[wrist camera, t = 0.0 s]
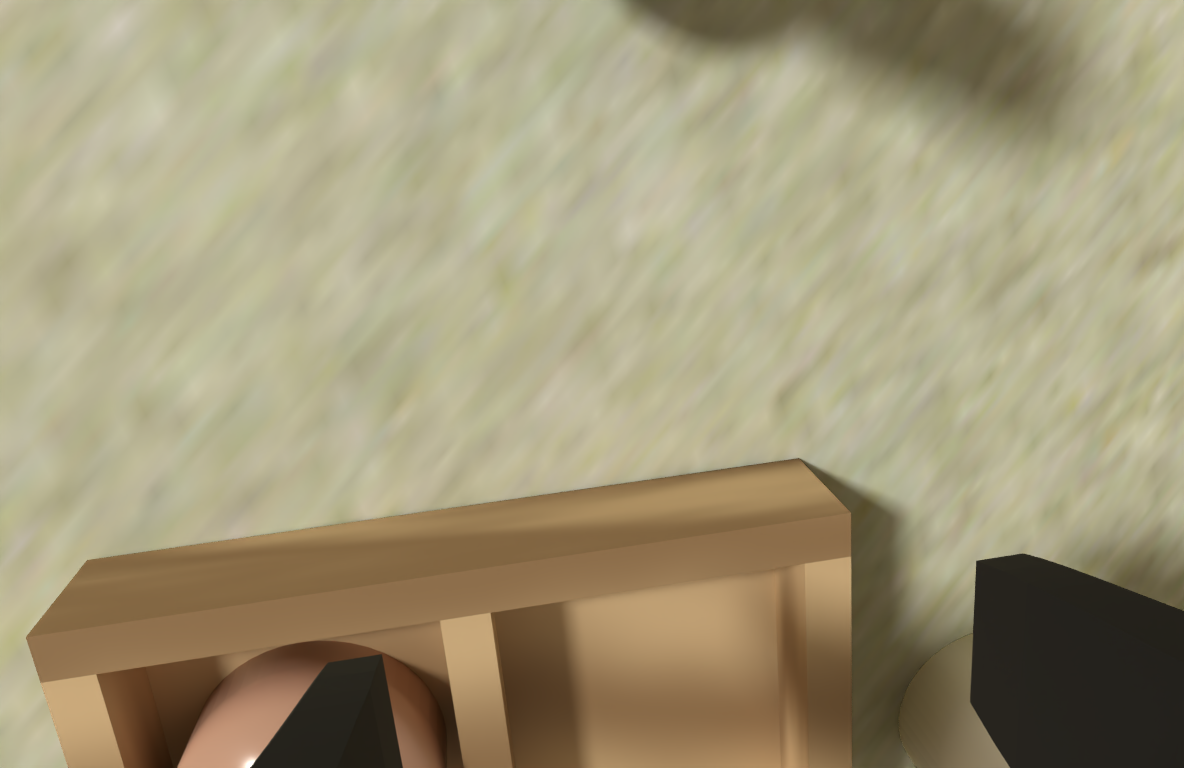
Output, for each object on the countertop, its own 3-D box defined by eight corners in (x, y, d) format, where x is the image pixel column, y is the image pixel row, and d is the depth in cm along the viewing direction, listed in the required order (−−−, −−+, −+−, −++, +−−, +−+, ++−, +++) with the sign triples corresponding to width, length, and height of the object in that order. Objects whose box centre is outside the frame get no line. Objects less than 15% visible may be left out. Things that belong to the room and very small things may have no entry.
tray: (806, 801, 25) (852, 893, 22) (191, 915, 23) (153, 1030, 20) (798, 458, 22) (851, 512, 19) (87, 560, 20) (25, 637, 17)
